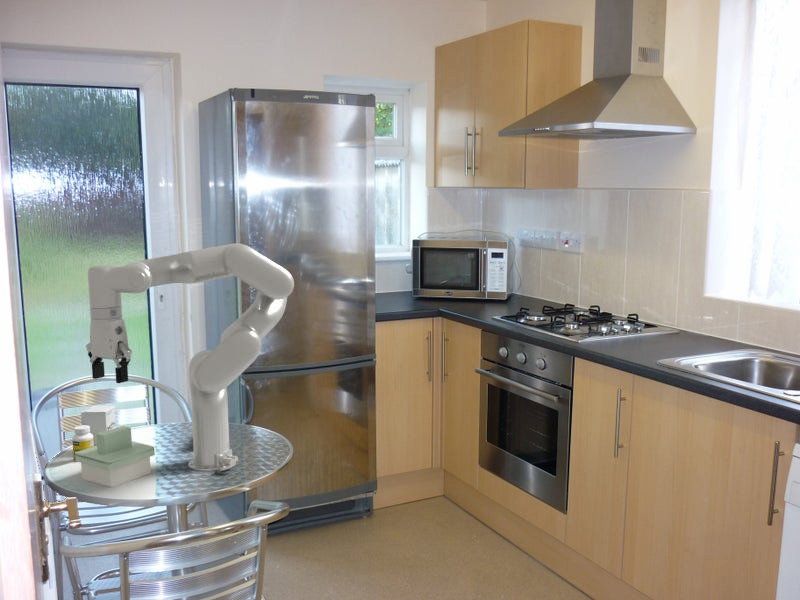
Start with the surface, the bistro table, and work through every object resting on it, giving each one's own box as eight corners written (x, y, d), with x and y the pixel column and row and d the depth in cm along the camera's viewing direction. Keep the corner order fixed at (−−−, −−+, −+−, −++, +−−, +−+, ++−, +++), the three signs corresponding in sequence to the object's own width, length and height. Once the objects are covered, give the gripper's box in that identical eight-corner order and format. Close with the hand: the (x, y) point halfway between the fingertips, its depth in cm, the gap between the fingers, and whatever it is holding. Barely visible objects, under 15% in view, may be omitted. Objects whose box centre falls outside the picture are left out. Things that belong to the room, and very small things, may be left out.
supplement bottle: (70, 464, 209) (67, 429, 208) (79, 457, 214) (76, 424, 213) (89, 464, 209) (87, 429, 208) (98, 457, 214) (95, 424, 213)
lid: (154, 455, 199) (153, 428, 198) (108, 470, 187) (107, 441, 186) (121, 446, 206) (119, 420, 205) (75, 461, 195) (73, 433, 194)
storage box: (150, 475, 199) (149, 449, 198) (111, 490, 189) (109, 463, 188) (122, 467, 206) (120, 442, 205) (82, 481, 196) (80, 455, 195)
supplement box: (108, 454, 217) (105, 411, 215) (82, 455, 217) (79, 412, 215) (118, 446, 224) (115, 405, 222) (93, 447, 224) (90, 405, 223)
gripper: (140, 314, 190) (144, 381, 193) (98, 310, 200) (102, 373, 202) (114, 318, 184) (118, 386, 186) (72, 313, 194) (77, 379, 196)
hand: (110, 379), depth 194 cm, fingers open, 9 cm apart
